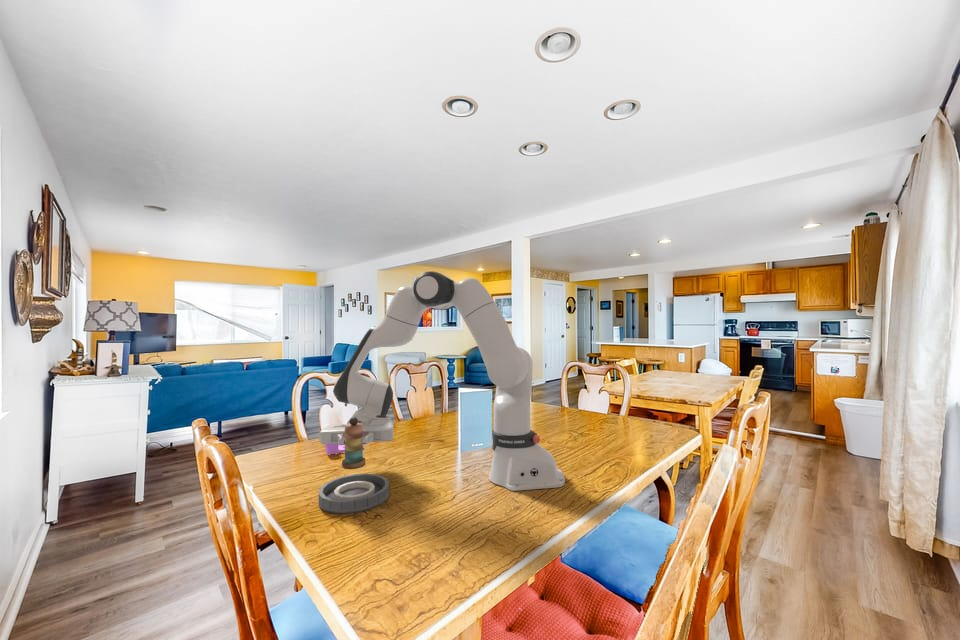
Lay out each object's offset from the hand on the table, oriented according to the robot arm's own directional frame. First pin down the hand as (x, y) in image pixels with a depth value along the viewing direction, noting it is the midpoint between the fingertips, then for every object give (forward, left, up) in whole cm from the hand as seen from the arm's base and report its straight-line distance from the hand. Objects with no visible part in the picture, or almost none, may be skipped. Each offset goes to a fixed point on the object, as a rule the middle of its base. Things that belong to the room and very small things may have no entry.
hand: (353, 441), depth 105 cm
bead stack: (0, -1, -6) cm, 7 cm away
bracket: (+17, -40, -16) cm, 46 cm away
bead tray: (0, -1, -15) cm, 15 cm away
